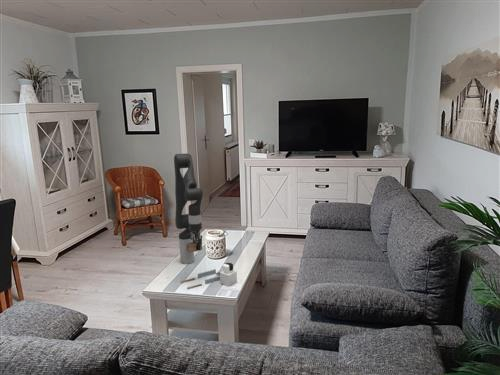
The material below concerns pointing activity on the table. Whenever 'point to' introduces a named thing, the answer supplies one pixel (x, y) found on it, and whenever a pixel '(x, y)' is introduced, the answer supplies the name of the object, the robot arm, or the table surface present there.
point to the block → (192, 247)
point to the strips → (191, 286)
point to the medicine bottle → (228, 275)
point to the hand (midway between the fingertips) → (196, 248)
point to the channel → (209, 278)
